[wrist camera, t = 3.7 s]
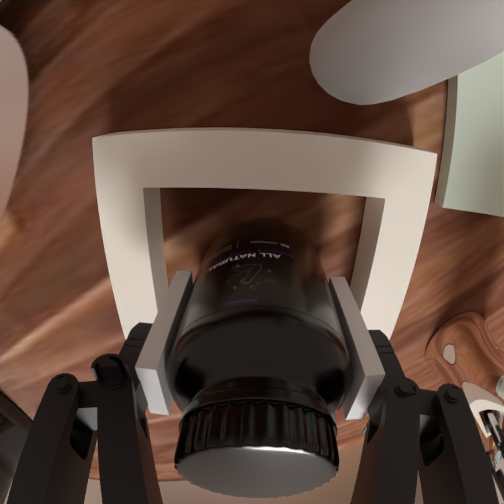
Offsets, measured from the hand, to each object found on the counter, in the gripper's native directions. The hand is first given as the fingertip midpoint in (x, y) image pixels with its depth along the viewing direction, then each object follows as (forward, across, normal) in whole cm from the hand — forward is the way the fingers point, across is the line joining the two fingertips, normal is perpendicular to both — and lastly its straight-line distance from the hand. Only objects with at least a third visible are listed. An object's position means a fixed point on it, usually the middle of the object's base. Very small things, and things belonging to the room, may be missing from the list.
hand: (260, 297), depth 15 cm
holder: (+3, 0, 0) cm, 3 cm away
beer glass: (+3, -16, +6) cm, 18 cm away
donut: (+3, -5, -13) cm, 15 cm away
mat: (+3, -16, -11) cm, 20 cm away
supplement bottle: (+3, 0, 0) cm, 3 cm away
